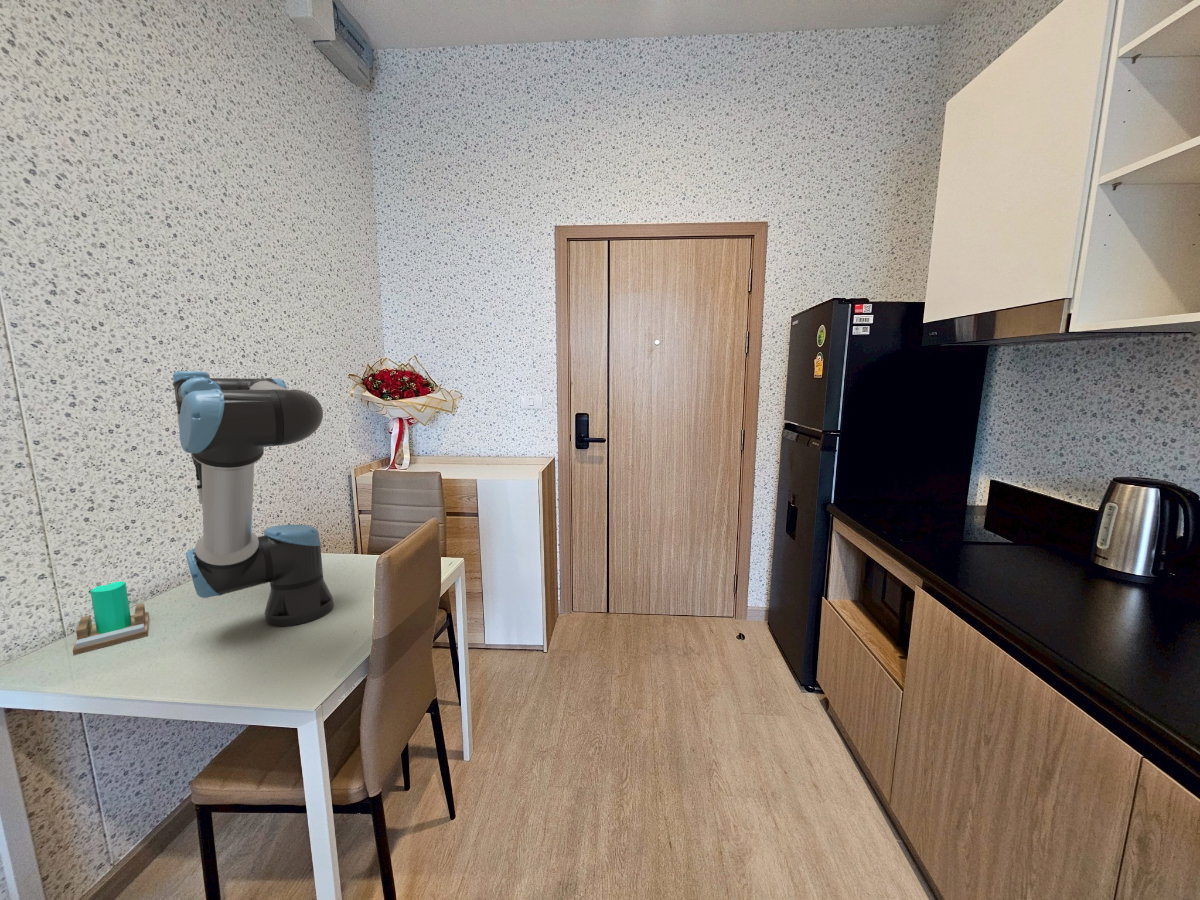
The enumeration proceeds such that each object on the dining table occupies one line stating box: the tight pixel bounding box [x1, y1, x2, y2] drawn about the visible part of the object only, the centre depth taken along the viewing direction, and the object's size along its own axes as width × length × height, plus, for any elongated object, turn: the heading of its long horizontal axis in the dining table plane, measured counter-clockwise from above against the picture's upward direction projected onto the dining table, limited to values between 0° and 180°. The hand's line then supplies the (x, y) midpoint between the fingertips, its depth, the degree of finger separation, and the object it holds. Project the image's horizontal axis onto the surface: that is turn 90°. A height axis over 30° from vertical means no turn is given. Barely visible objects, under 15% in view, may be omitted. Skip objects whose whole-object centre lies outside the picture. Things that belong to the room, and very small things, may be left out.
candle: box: [90, 580, 132, 634], centre depth 115 cm, size 6×6×12 cm
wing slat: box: [75, 624, 144, 648], centre depth 111 cm, size 2×11×1 cm, turn 132°
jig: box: [72, 602, 150, 656], centre depth 114 cm, size 14×12×4 cm
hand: (207, 507), depth 129 cm, fingers open, 13 cm apart
